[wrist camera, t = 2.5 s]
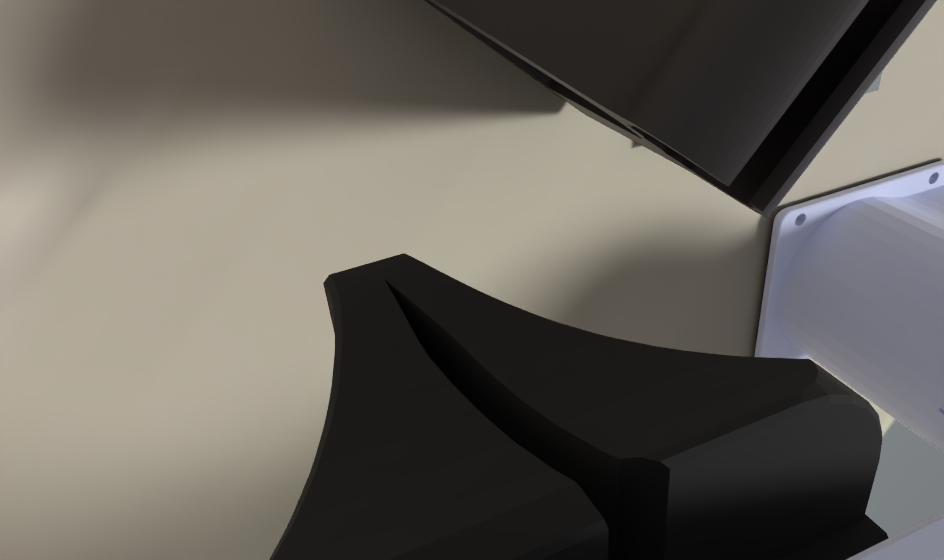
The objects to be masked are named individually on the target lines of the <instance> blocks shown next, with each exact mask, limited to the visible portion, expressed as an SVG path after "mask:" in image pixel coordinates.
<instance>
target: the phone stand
mask: <svg viewBox="0 0 944 560" xmlns="http://www.w3.org/2000/svg"><path fill="white" fill-rule="evenodd" d="M424 1H426V2H427V3H429V4H430V5H431V6H433V7H434V8H436V9H437V10H439V11H440V12H441V13H443V14H444V15H446V16H447V17H448V18H450V19H451V20H453V21H454V22H455V23H457V24H458V25H460V26H461V27H462V28H464V29H465V30H467V31H468V32H470V33H471V34H473V35H474V36H475V37H477V38H478V39H479V40H481V41H482V42H484V43H485V44H486V45H488V46H489V47H491V48H492V49H493V50H495V51H496V52H498V53H499V54H500V55H502V56H503V57H505V58H506V59H507V60H509V61H510V62H512V63H513V64H514V65H516V66H517V67H519V68H520V69H521V70H523V71H524V72H526V73H527V74H529V75H530V76H531V77H533V78H534V79H536V80H537V81H538V82H540V83H541V84H543V85H544V86H545V87H547V88H548V89H550V90H551V91H552V92H554V93H555V94H557V95H558V96H559V97H561V98H562V99H564V100H565V101H566V102H568V103H569V104H571V105H572V106H574V107H575V108H576V109H578V110H579V111H581V112H582V113H584V114H585V115H587V116H589V117H590V118H592V119H594V120H596V121H598V122H600V123H602V124H603V125H605V126H607V127H609V128H611V129H613V130H614V131H616V132H618V133H620V134H622V135H624V136H626V137H627V138H629V139H631V140H633V141H635V142H637V143H639V144H640V145H642V146H644V147H646V148H648V149H650V150H651V151H653V152H655V153H657V154H659V155H661V156H663V157H664V158H666V159H668V160H670V161H672V162H674V163H675V164H677V165H679V166H681V167H683V168H685V169H686V170H688V171H690V172H691V173H693V174H695V175H697V176H698V177H700V178H701V179H703V180H705V181H706V182H708V183H710V184H711V185H713V186H714V187H716V188H718V189H719V190H721V191H722V192H724V193H726V194H727V195H729V196H730V197H732V198H734V199H735V200H737V201H738V202H740V203H742V204H743V205H745V206H747V207H748V208H750V209H752V210H753V211H755V212H757V213H759V214H760V215H762V216H764V217H767V218H768V217H769V216H770V214H771V213H772V212H773V211H774V209H775V208H776V207H777V205H778V204H779V203H780V202H781V200H782V199H783V198H784V196H785V195H786V194H787V193H788V191H789V190H790V189H791V187H792V186H793V185H794V184H795V182H796V181H797V180H798V178H799V177H800V176H801V175H802V173H803V172H804V171H805V169H806V168H807V167H808V166H809V164H810V163H811V162H812V160H813V159H814V158H815V157H816V155H817V154H818V153H819V151H820V150H821V149H822V148H823V146H824V145H825V144H826V142H827V141H828V140H829V139H830V137H831V136H832V135H833V133H834V132H835V131H836V130H837V128H838V127H839V126H840V124H841V123H842V122H843V121H844V119H845V118H846V117H847V115H848V114H849V113H850V112H851V110H852V109H853V108H854V106H855V105H856V104H857V102H858V101H859V100H860V99H861V97H862V96H863V95H864V93H865V92H866V91H867V90H868V88H869V87H870V86H871V84H872V83H873V82H874V81H875V79H876V78H877V77H878V75H879V74H880V73H881V72H882V70H883V69H884V68H885V66H886V65H887V64H888V63H889V61H890V60H891V59H892V57H893V56H894V55H895V54H896V52H897V51H898V50H899V48H900V47H901V46H902V45H903V43H904V42H905V41H906V39H907V38H908V37H909V36H910V34H911V33H912V32H913V30H914V29H915V28H916V27H917V25H918V24H919V23H920V21H921V20H922V19H923V18H924V16H925V15H926V14H927V12H928V11H929V10H930V9H931V7H932V6H933V5H934V3H935V2H936V1H937V0H424Z"/></svg>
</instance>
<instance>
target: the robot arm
mask: <svg viewBox="0 0 944 560" xmlns="http://www.w3.org/2000/svg"><path fill="white" fill-rule="evenodd" d="M323 284H324V288H325V293H326V297H327V301H328V306H329V310H330V315H331V319H332V323H333V328H334V332H335V357H334V368H333V379H332V388H331V394H330V400H329V406H328V411H327V415H326V420H325V424H324V428H323V432H322V436H321V439H320V443H319V446H318V450H317V453H316V457H315V460H314V463H313V466H312V469H311V472H310V474H309V477H308V479H307V482H306V484H305V487H304V489H303V491H302V494H301V496H300V499H299V501H298V503H297V506H296V508H295V511H294V513H293V516H292V518H291V520H290V522H289V524H288V526H287V528H286V530H285V532H284V534H283V536H282V538H281V540H280V541H279V543H278V545H277V547H276V549H275V550H274V552H273V554H272V556H271V558H270V560H944V514H941V515H937V516H934V517H931V518H928V519H926V520H924V521H922V522H920V523H918V524H916V525H915V526H913V527H911V528H908V529H907V530H904V531H903V532H900V533H898V534H897V535H894V536H892V537H890V538H888V536H887V533H886V532H885V531H884V530H882V529H881V528H880V527H879V526H878V525H877V524H876V523H875V522H873V521H872V520H871V519H870V518H869V517H868V516H866V515H865V511H866V507H867V504H868V500H869V496H870V492H871V489H872V485H873V481H874V478H875V474H876V470H877V466H878V463H879V459H880V452H881V444H882V430H881V425H880V420H879V415H878V413H877V412H876V411H875V410H874V408H873V407H872V406H871V405H870V403H869V402H868V401H867V400H865V399H864V398H863V397H861V396H860V395H859V394H857V393H856V392H854V391H853V390H852V389H850V388H849V387H848V386H846V385H845V384H843V383H842V382H841V381H839V380H838V379H837V378H835V377H834V376H832V375H831V374H830V373H828V372H827V371H826V370H824V369H823V368H821V367H820V366H819V365H817V364H816V363H814V362H813V361H811V360H810V359H806V358H809V357H811V358H812V359H814V360H815V361H816V362H818V363H819V364H820V365H822V366H823V367H825V368H826V369H827V370H829V371H830V372H831V373H833V374H834V375H836V376H837V377H838V378H840V379H841V380H843V381H844V382H845V383H847V384H848V385H849V386H851V387H852V388H854V389H855V390H856V391H858V392H859V393H860V394H862V395H863V396H865V397H866V398H867V399H869V400H870V401H871V402H873V403H874V404H876V405H877V406H878V407H880V408H881V409H882V410H884V411H885V412H887V413H888V414H889V415H891V416H892V417H893V418H895V419H896V420H898V421H899V422H900V423H902V424H903V425H905V426H906V427H907V428H909V429H910V430H911V431H913V432H914V433H915V434H917V435H918V436H920V437H921V438H922V439H924V440H925V441H927V442H928V443H929V444H931V445H932V446H933V447H935V448H936V449H938V450H939V451H940V452H942V453H943V454H944V160H941V161H938V162H935V163H931V164H928V165H925V166H922V167H918V168H915V169H912V170H908V171H905V172H902V173H899V174H895V175H892V176H889V177H885V178H882V179H879V180H876V181H872V182H869V183H866V184H862V185H859V186H856V187H853V188H849V189H846V190H843V191H839V192H836V193H833V194H830V195H826V196H823V197H820V198H816V199H813V200H810V201H807V202H803V203H800V204H797V205H794V206H790V207H787V208H784V209H783V210H781V211H780V212H779V213H778V214H777V215H776V217H775V219H774V224H773V231H772V238H771V245H770V252H769V259H768V266H767V273H766V280H765V287H764V294H763V301H762V308H761V315H760V322H759V329H758V336H757V343H756V349H755V356H754V357H743V356H727V355H718V354H709V353H700V352H690V351H682V350H676V349H669V348H662V347H656V346H651V345H646V344H641V343H636V342H631V341H626V340H621V339H616V338H612V337H607V336H603V335H599V334H595V333H592V332H588V331H585V330H581V329H578V328H575V327H571V326H568V325H564V324H561V323H558V322H555V321H552V320H549V319H546V318H543V317H540V316H537V315H535V314H532V313H530V312H527V311H525V310H522V309H520V308H517V307H514V306H512V305H509V304H507V303H505V302H502V301H500V300H498V299H496V298H493V297H491V296H489V295H487V294H484V293H482V292H480V291H478V290H476V289H474V288H472V287H470V286H468V285H466V284H464V283H462V282H460V281H458V280H456V279H454V278H452V277H450V276H448V275H446V274H444V273H442V272H440V271H438V270H436V269H434V268H432V267H430V266H428V265H427V264H425V263H423V262H421V261H419V260H417V259H415V258H413V257H411V256H409V255H407V254H400V255H397V256H393V257H390V258H386V259H383V260H379V261H376V262H372V263H369V264H365V265H362V266H358V267H355V268H351V269H348V270H345V271H341V272H338V273H334V274H331V275H329V276H328V277H327V279H326V280H325V282H324V283H323Z"/></svg>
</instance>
